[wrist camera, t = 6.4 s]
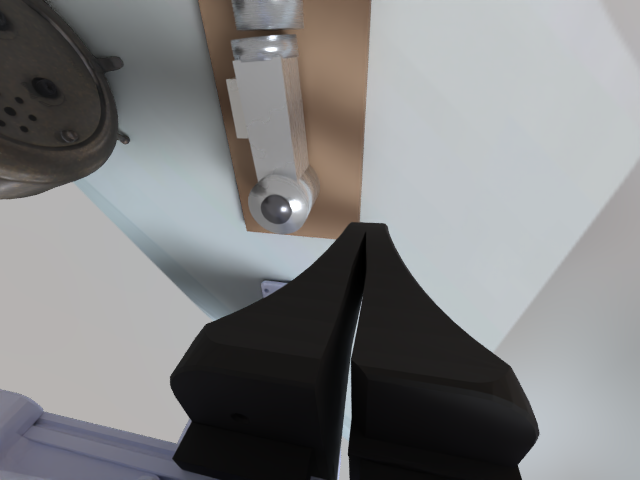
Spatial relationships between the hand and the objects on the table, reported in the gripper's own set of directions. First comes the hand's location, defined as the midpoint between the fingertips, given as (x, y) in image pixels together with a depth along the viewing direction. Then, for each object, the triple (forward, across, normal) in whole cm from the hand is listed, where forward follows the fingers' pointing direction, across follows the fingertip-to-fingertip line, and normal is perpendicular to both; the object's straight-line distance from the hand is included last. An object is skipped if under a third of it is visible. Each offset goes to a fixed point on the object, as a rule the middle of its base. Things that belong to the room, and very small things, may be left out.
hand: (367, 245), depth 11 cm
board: (+10, +5, -3) cm, 12 cm away
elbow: (+9, +6, -2) cm, 10 cm away
